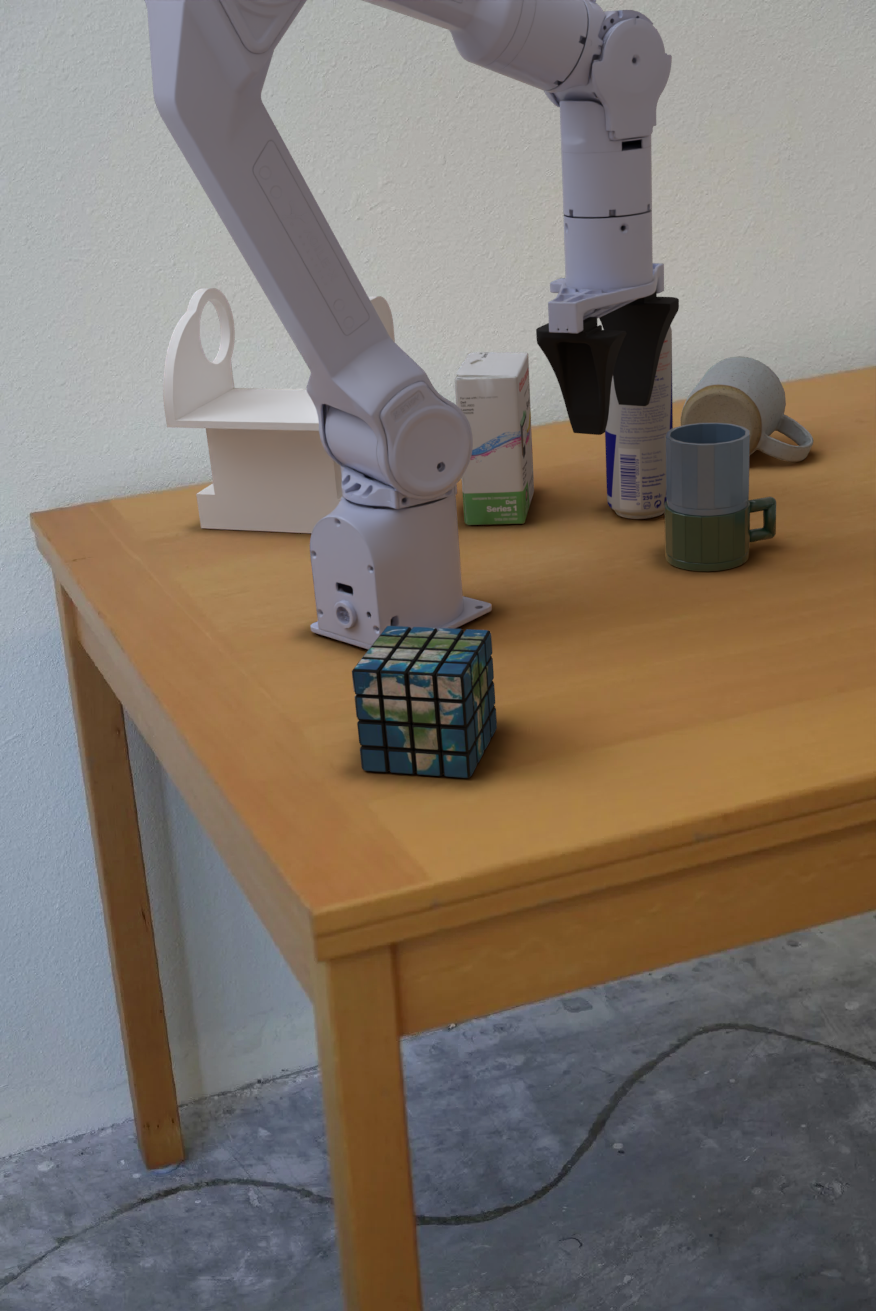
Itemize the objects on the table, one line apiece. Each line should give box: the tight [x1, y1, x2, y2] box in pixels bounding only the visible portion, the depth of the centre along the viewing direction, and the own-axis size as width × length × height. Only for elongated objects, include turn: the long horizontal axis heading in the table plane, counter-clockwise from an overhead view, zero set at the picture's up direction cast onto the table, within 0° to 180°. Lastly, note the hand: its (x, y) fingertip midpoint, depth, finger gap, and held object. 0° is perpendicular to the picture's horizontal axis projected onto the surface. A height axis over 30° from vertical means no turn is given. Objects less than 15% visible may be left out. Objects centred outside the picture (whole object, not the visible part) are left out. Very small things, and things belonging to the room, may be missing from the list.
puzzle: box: [351, 626, 498, 779], centre depth 79 cm, size 6×6×6 cm
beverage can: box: [602, 325, 674, 520], centre depth 112 cm, size 5×5×15 cm
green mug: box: [664, 496, 777, 572], centre depth 104 cm, size 8×6×4 cm
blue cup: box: [666, 423, 750, 516], centre depth 102 cm, size 6×6×5 cm
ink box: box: [454, 351, 535, 526], centre depth 115 cm, size 8×5×12 cm, turn 171°
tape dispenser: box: [162, 287, 396, 534], centre depth 116 cm, size 14×13×18 cm
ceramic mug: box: [680, 356, 814, 463], centre depth 125 cm, size 11×8×8 cm
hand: (612, 418), depth 101 cm, fingers open, 7 cm apart
